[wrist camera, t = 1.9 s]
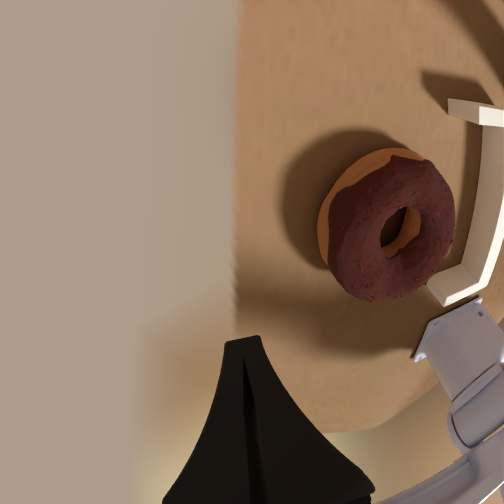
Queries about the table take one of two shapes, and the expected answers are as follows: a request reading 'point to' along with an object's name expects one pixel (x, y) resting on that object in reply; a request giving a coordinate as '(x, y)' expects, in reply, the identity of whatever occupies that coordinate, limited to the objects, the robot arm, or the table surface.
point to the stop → (478, 208)
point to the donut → (374, 217)
